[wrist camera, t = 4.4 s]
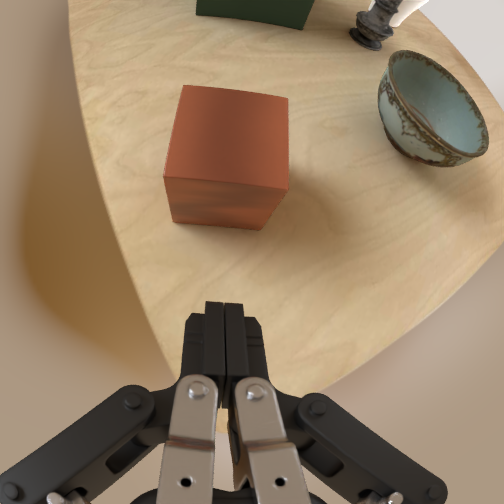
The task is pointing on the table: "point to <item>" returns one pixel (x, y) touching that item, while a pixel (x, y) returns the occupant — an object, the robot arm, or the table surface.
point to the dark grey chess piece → (375, 24)
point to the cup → (403, 10)
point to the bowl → (429, 112)
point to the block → (227, 157)
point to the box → (259, 10)
